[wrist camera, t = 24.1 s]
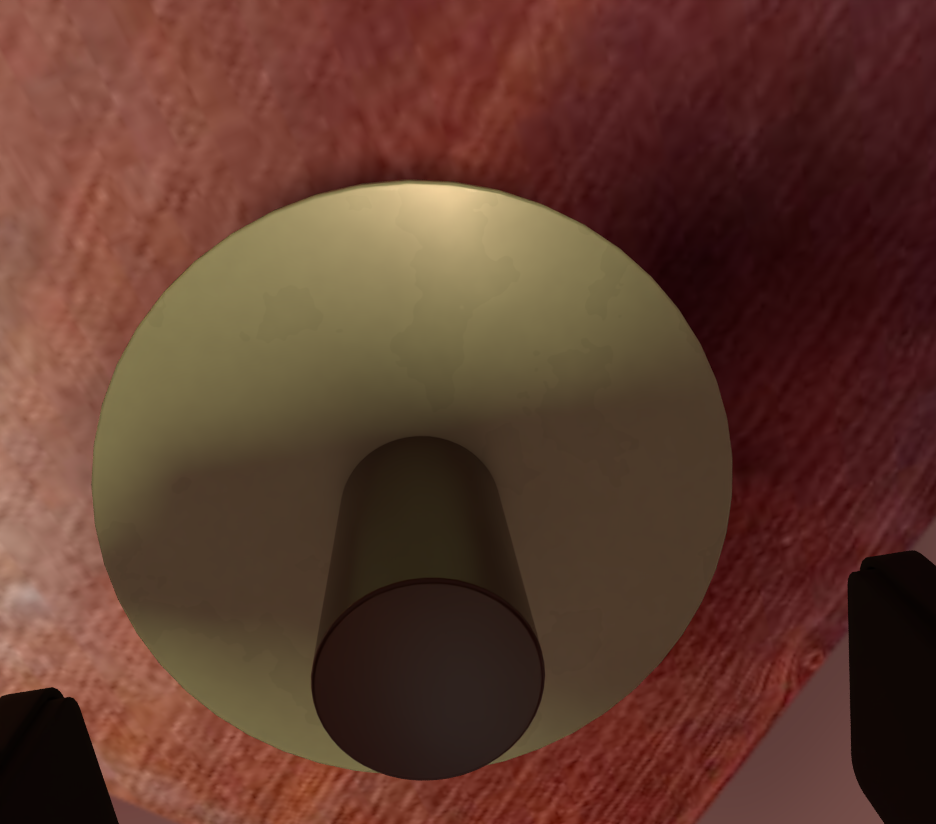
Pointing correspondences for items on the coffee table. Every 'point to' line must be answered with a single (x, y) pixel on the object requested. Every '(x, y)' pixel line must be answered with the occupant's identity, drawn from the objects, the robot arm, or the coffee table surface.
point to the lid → (412, 477)
